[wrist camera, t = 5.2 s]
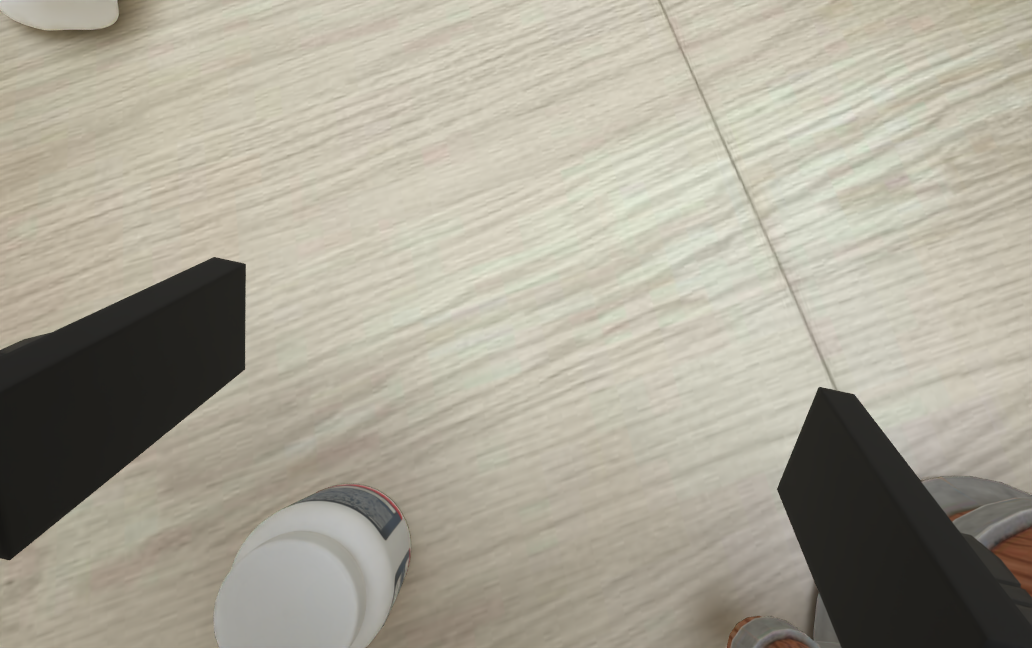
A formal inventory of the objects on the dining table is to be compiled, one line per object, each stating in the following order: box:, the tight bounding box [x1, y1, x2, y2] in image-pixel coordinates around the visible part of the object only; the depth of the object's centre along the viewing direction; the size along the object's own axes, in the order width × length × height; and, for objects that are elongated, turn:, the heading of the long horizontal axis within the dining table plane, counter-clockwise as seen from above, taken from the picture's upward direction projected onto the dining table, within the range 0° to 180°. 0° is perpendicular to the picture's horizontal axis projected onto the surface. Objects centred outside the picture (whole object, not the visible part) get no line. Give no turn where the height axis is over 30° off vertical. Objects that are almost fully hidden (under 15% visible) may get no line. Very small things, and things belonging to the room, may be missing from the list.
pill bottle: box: [213, 484, 411, 648], centre depth 22 cm, size 5×5×9 cm
